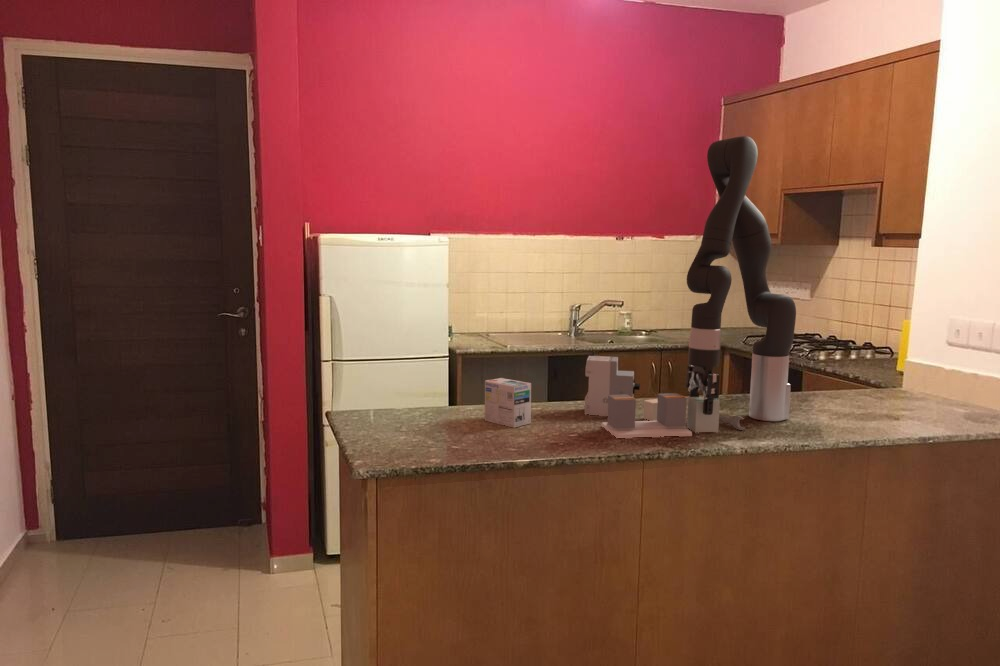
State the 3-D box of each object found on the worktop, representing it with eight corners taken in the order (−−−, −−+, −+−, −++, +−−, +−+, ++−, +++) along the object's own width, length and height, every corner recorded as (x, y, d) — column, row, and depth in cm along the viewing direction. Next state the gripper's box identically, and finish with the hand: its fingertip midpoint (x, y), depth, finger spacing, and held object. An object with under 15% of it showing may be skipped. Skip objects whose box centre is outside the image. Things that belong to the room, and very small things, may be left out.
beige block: (655, 417, 204) (656, 399, 203) (665, 420, 200) (665, 402, 200) (643, 418, 202) (644, 400, 202) (652, 422, 199) (653, 403, 198)
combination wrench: (694, 403, 208) (741, 418, 189) (698, 402, 208) (746, 417, 190) (693, 416, 208) (741, 432, 190) (697, 416, 209) (745, 432, 190)
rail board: (672, 423, 197) (673, 389, 196) (691, 436, 185) (693, 400, 184) (601, 426, 194) (602, 391, 192) (616, 438, 182) (618, 402, 181)
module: (709, 427, 194) (710, 395, 193) (718, 432, 189) (719, 400, 188) (687, 428, 193) (688, 396, 192) (695, 433, 188) (696, 400, 187)
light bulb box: (531, 424, 195) (532, 382, 194) (514, 428, 190) (514, 386, 189) (501, 416, 203) (501, 376, 201) (483, 421, 198) (483, 380, 196)
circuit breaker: (638, 418, 202) (640, 362, 200) (584, 415, 205) (585, 360, 203) (638, 411, 210) (640, 357, 208) (586, 408, 213) (588, 355, 211)
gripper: (731, 350, 182) (727, 417, 184) (706, 342, 196) (702, 404, 198) (702, 350, 181) (697, 417, 183) (679, 342, 195) (675, 404, 197)
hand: (700, 410), depth 190 cm, fingers open, 8 cm apart
